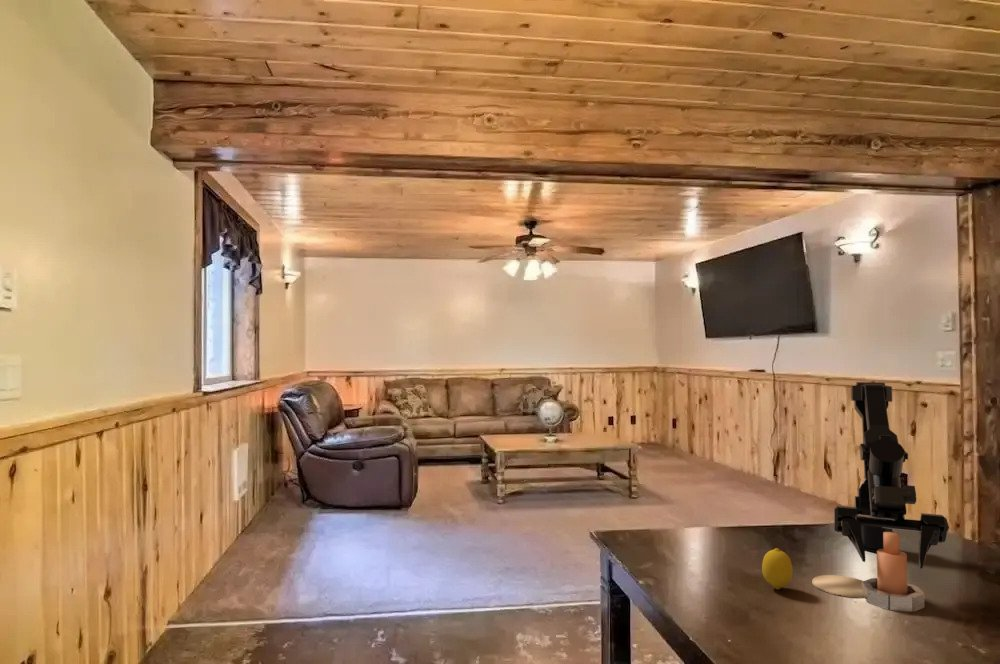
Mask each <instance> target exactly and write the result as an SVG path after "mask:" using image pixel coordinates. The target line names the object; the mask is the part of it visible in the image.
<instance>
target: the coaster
mask: <svg viewBox="0 0 1000 664" xmlns="http://www.w3.org/2000/svg"><path fill="white" fill-rule="evenodd" d="M862 581H863V580H862V579H859V578H856V577H850V576H845V575H837V574H824V575H823V574H822V575H818V576H815V577H814V578H812V581H811V582H812V584H811V585H813V587H815V588H816V589H817V588H818V589H817V590H819V589H820V590H819V591H821V590H823V591H822V592H824V591H825V592H824V593H826V592H828V593H827V594H830V593H831V594H830V595H833V594H836V595H835V596H838V595H841V596H840V597H843V596H846V597H845V598H853V597H863V598H864V595H863V594H862Z"/></svg>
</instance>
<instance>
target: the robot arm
mask: <svg viewBox="0 0 1000 664" xmlns="http://www.w3.org/2000/svg"><path fill="white" fill-rule="evenodd" d="M850 401H852V402H853V406H854V410H855V411H856V413H857V414H858V416H859V417H860V419H861V422H862V423H861V424H862V425H861V426H862V427H861V428H862V443H860V444H859V454H860V455H859V457H860V461H863V473H864V474H863V475H864V477H863V478H864V480H863V482H861V484H860V486H859V487H858V489H857V495H855V496H854V505H853V506H843V505H836V506H835V507H834V508H833V511H834V512H833V527H834V528H833V529H834V531H835V532H837V533H841V535H842V536H843V537H847V538H848V539H849V541H850V542H851V543H852V545H853V546H854V548H855V550H856V551H857V553H858V556H859V557H860V559H861V560H862V562H863V563H865V562H866V551H868V552H872V553H874V554H875V553H876V554H877V550H878V549H884V545H883V533H884V532H894V533H895V531H894V530H901V531H913V532H919V540H918V565H919V569H921V570H922V569H923V568H924V564H925V562H926V561H925V560H926V557H927V554H928V552H929V550H930V548H931V547H932V546H938V544H939V543H945V542H946V539H947V535H948V530H949V525H948V524H949V523H948V519H947V518H946V517H945V516H944V515H943V514H937V513H936V514H934V513H922V512H921V514H920V520H919V519H905V518H906V517H905V516H906V515H907V505H916V503H917V492H916V486H915V485H908V484H907V485H905V484H904V485H903V487H902V485H901V484H902V482H901V477H900V476H901V474H902V471H903V464H904V463H905V462H906V460H909V453H908V452H907V451H906V450H905V448H904V447H903V445H901V444H900V443H899V439H898V435H897V434H896V433H895V432H893V431H892V430H891V429H890V425H889V424H890V421H889V416H888V408H889V402H893V386H890V385H886V383H885V382H881V381H879V382H876V381H874V382H870V381H869V382H868V381H856V383H855V385H851V387H850ZM906 504H907V505H906Z"/></svg>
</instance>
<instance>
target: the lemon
mask: <svg viewBox="0 0 1000 664" xmlns="http://www.w3.org/2000/svg"><path fill="white" fill-rule="evenodd" d="M761 564H762V565H761V571H762V575H763V578H764V579H765V580H766V582H767V583H768V584H769V585H771V586H773V588H775V590H780V589H782V588H783V587H785V586H788V584H790V582H791V580H792V578H793V573H794V572H793V571H794V570H793V564H792V561H791V558H790V557H789V555H788V554H786V552H784V551H783V550H781V549H780V548H778V547H776V548H774V549H771V550H768V551H767V552H766V553H765V554H764V556H763V559H762V563H761Z"/></svg>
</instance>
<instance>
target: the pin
mask: <svg viewBox="0 0 1000 664" xmlns="http://www.w3.org/2000/svg"><path fill="white" fill-rule="evenodd" d="M883 545H884V549H878V550H877V553H876V561H877V562H876V565H877V566H876V568H877V569H876V571H877V573H876V575H877V577H876V578H877V585H878V590H879V591H882V592H886V593H889V594H898V595H908V593H907V583H908V559H907V558H908V554H907V553H906V552H904V551H901V549H900V546H901V545H900V534H899V533H897V532H895V531H894V532H884V533H883Z"/></svg>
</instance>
